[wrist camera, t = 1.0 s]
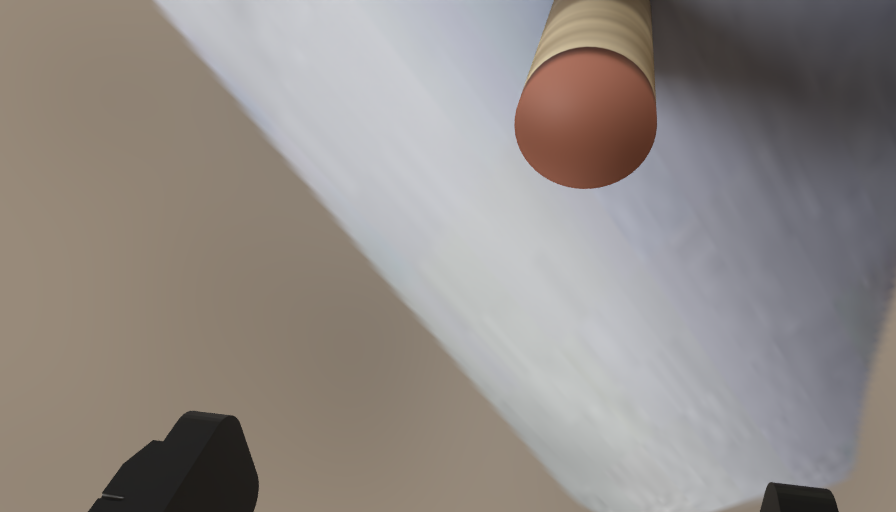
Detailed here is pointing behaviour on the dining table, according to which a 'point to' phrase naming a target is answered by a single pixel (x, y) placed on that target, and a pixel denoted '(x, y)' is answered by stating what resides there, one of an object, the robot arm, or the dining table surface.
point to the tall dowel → (590, 93)
